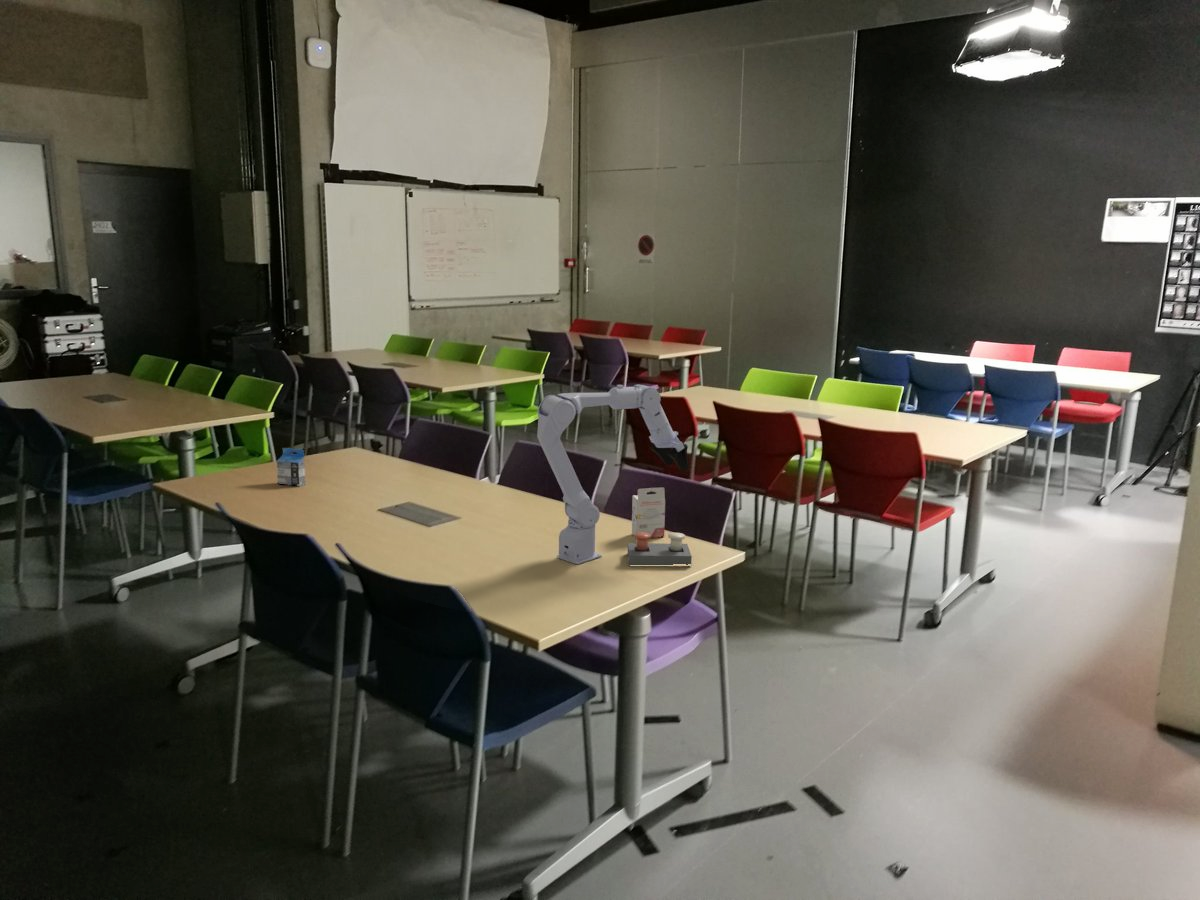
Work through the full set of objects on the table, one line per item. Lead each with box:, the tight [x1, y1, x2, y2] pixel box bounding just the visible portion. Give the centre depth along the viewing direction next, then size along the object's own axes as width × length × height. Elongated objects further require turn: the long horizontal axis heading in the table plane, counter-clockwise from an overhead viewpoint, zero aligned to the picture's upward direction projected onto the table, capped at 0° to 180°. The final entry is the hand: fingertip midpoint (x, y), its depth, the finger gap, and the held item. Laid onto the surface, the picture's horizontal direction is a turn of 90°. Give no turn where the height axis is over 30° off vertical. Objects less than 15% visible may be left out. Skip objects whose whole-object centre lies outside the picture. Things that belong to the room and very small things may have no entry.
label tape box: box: [276, 447, 306, 487], centre depth 300 cm, size 9×4×12 cm, turn 73°
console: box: [627, 542, 693, 566], centre depth 232 cm, size 16×10×3 cm, turn 91°
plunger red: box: [633, 532, 652, 550], centre depth 231 cm, size 4×4×4 cm
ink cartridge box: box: [631, 487, 666, 538], centre depth 251 cm, size 9×5×15 cm, turn 106°
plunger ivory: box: [667, 532, 686, 551], centre depth 231 cm, size 4×4×4 cm
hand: (677, 467), depth 241 cm, fingers open, 7 cm apart
